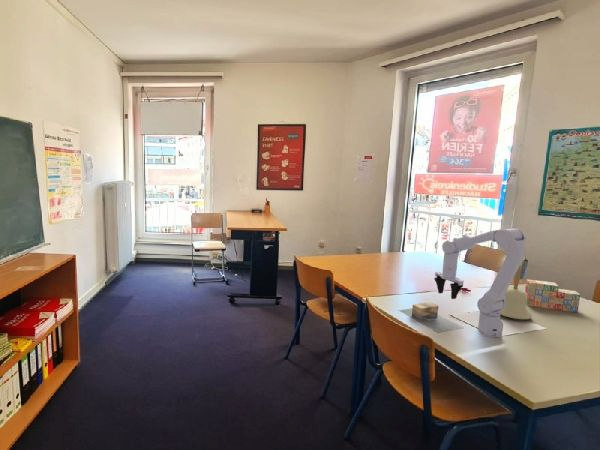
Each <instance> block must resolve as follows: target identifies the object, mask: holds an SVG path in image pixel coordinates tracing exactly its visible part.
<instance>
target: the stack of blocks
mask: <svg viewBox="0 0 600 450" xmlns="http://www.w3.org/2000/svg"><path fill="white" fill-rule="evenodd" d="M525 283H526V284H525V291H524V293H525V294H526V303H525V306H530V307H536V308H543V309H549V310H557V311H563V312H570V313H577V314H578V311H579V306H580V299H581V294H580V293H579V292H577V290H569V289H562V288H559V285H558V284H557V283H556V282H552V281H545V280H536V279H535V280H534V279H529V278H527V279H526V282H525Z"/></svg>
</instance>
